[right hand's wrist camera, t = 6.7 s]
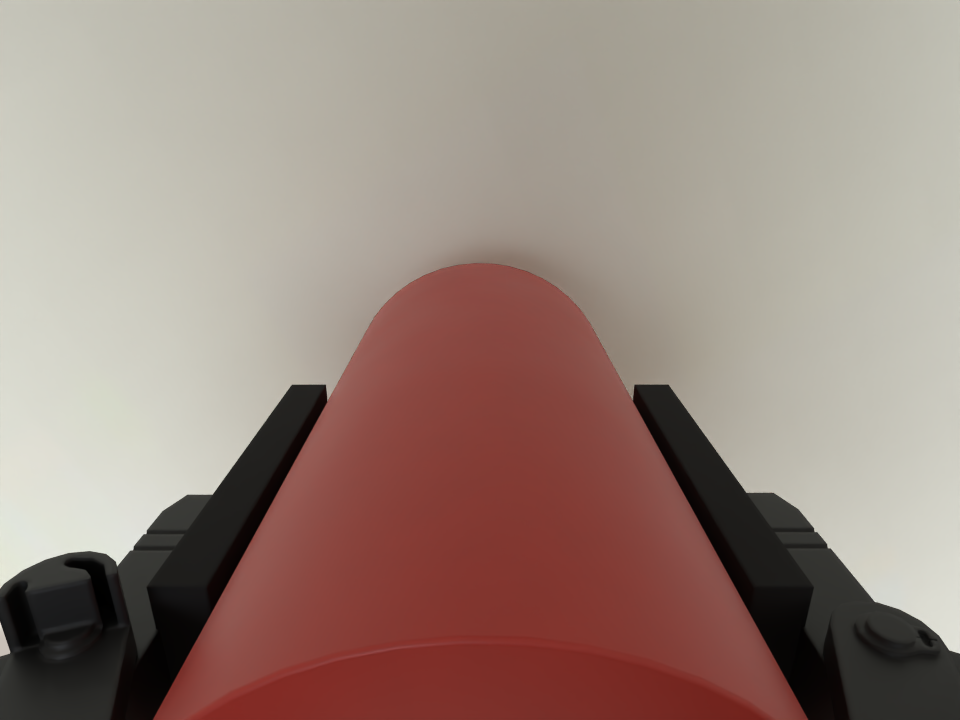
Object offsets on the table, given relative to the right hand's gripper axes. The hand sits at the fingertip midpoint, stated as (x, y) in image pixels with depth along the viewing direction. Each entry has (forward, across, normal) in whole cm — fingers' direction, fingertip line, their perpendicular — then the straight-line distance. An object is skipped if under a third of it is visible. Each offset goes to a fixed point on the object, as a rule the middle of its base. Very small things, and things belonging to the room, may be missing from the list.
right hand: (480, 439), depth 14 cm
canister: (+3, 0, 0) cm, 3 cm away
